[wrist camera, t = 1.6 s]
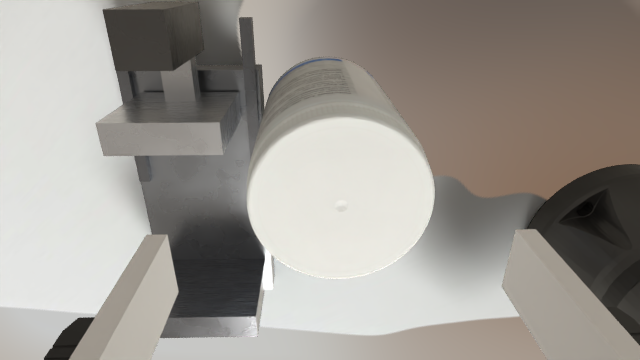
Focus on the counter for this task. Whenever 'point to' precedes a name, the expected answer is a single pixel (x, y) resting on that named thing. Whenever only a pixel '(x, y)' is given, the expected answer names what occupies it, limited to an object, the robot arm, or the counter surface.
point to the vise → (210, 209)
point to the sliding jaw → (165, 86)
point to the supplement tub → (336, 173)
